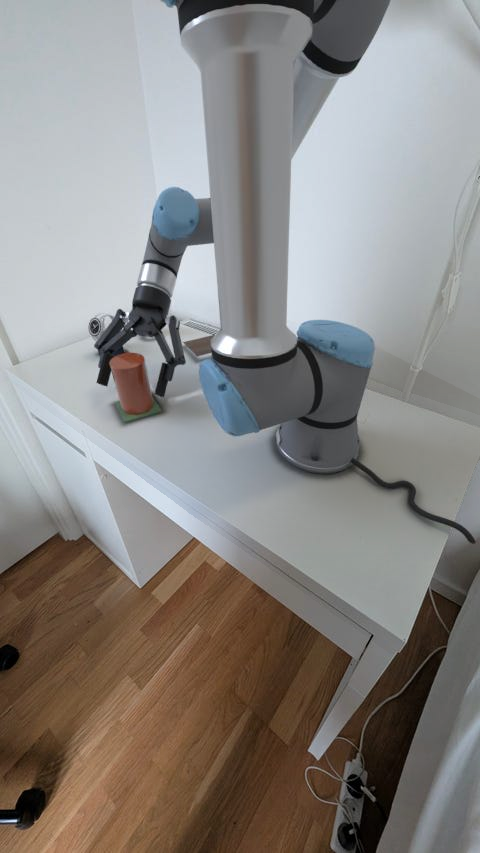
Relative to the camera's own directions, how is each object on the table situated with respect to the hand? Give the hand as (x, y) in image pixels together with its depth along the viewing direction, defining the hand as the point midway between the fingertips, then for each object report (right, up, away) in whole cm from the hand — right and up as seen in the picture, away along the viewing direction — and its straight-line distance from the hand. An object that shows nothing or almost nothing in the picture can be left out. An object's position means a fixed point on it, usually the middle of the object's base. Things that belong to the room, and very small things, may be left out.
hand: (129, 390), depth 70 cm
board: (+13, +14, +26) cm, 33 cm away
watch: (-13, +13, +25) cm, 31 cm away
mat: (0, -3, +5) cm, 6 cm away
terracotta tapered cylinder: (0, -3, +4) cm, 5 cm away
